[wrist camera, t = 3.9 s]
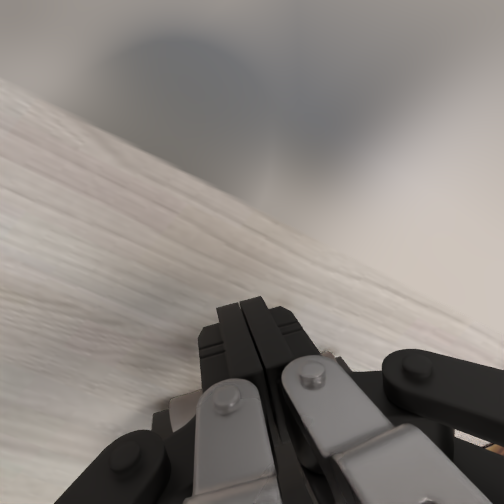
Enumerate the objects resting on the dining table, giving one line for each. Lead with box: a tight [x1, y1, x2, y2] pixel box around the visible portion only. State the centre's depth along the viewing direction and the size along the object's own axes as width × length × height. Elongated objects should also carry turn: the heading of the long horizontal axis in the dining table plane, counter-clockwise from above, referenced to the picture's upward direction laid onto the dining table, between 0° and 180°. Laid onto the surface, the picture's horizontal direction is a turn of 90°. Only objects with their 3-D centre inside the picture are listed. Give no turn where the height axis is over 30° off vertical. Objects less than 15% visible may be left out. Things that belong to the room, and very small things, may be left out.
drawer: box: [151, 351, 352, 504], centre depth 17 cm, size 18×12×8 cm, turn 11°
